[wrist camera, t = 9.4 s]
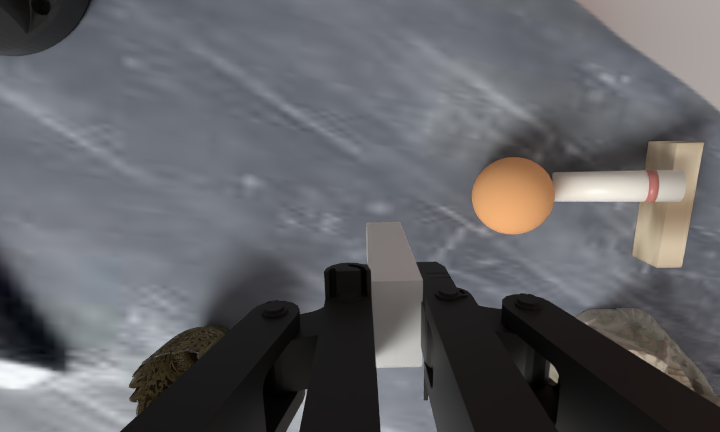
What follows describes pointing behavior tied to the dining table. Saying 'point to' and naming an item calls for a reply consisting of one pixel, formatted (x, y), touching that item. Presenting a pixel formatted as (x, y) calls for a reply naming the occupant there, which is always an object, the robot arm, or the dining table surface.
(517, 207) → the ball
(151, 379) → the cup
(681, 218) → the stopper rail
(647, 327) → the ceramic cottage
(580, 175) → the pin
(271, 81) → the dining table surface
